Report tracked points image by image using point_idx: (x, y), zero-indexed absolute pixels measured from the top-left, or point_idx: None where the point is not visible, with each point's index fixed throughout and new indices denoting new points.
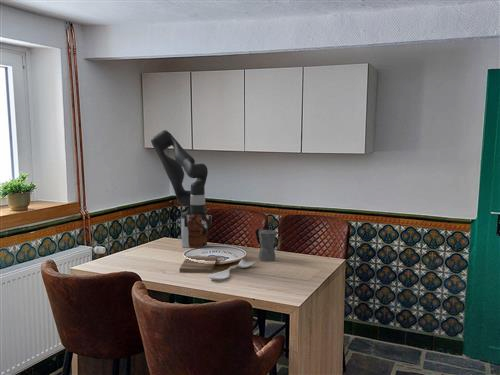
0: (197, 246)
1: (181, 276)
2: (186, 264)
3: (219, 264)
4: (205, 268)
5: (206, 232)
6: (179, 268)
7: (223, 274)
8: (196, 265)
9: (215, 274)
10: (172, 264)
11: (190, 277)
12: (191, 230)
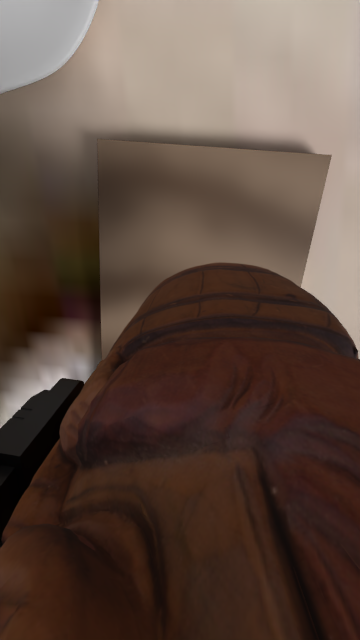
0: (190, 268)
1: (311, 49)
2: (276, 253)
3: (86, 314)
4: (141, 148)
5: (34, 409)
6: (331, 155)
7: (7, 29)
8: (208, 226)
9: (62, 32)
10: (356, 334)
11: (244, 21)
12: (308, 347)
